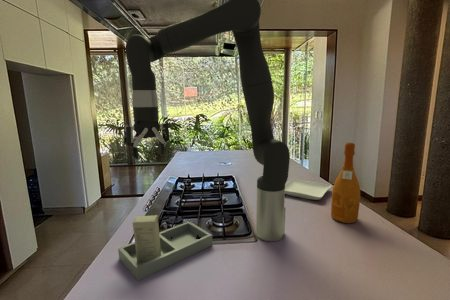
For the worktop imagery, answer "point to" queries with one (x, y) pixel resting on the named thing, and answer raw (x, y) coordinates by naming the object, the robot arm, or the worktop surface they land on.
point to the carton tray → (167, 249)
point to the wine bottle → (346, 191)
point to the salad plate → (306, 189)
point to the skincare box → (147, 237)
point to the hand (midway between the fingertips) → (148, 156)
